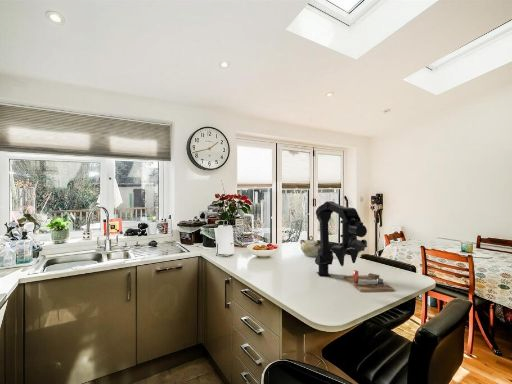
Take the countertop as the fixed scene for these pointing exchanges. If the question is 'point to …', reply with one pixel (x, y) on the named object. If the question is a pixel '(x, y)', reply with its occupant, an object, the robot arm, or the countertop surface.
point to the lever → (366, 281)
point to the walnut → (372, 276)
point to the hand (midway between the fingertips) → (348, 264)
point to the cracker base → (369, 286)
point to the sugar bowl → (310, 247)
